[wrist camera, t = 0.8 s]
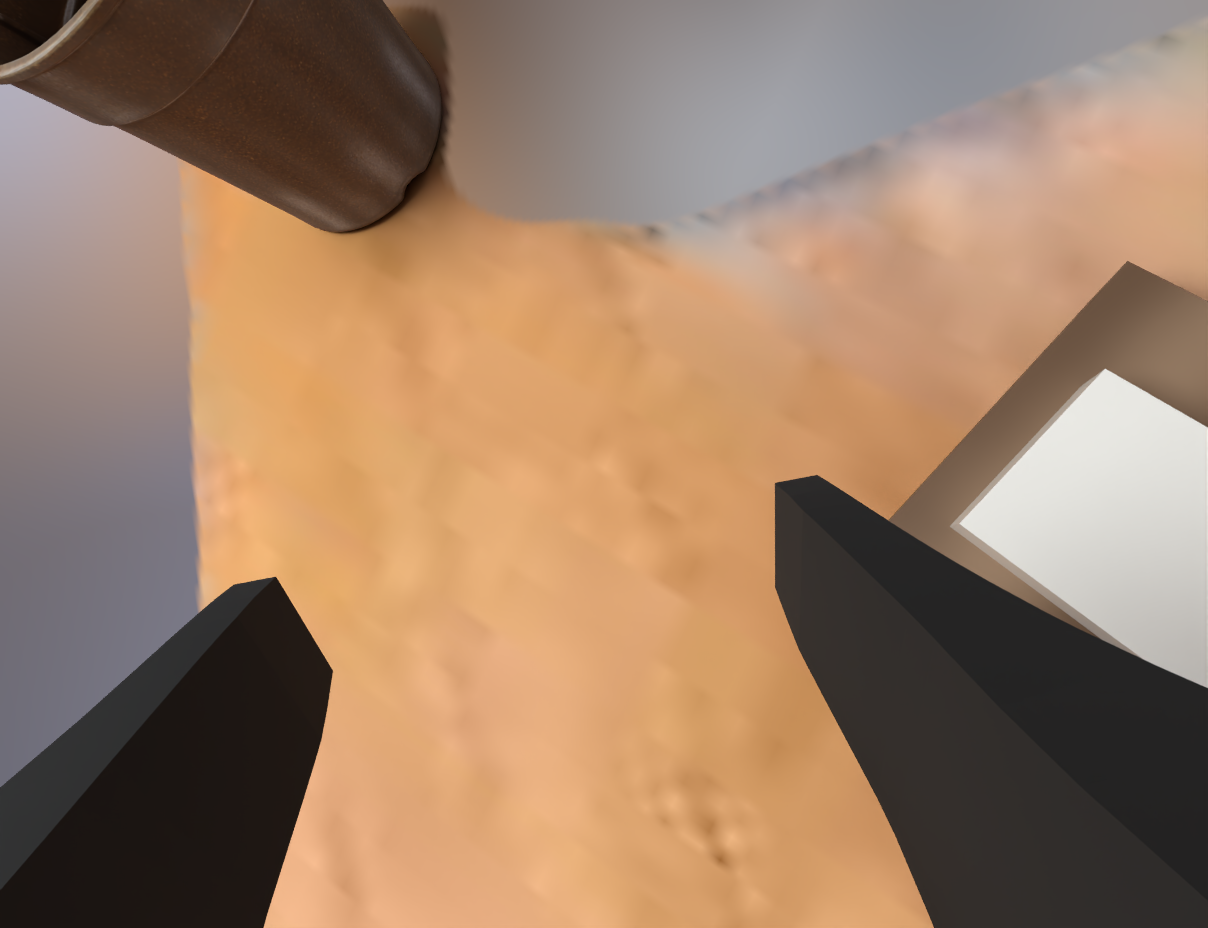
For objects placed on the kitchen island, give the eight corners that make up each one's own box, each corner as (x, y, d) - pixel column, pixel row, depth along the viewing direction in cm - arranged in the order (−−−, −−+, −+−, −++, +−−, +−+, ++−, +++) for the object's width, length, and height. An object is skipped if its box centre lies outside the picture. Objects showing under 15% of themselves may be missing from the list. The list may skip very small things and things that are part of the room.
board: (1582, 558, 17) (1723, 559, 14) (1201, 890, 19) (1261, 948, 16) (1093, 297, 22) (1127, 261, 20) (833, 579, 24) (831, 583, 22)
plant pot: (262, 88, 42) (-56, -164, 27) (456, -31, 37) (189, -424, 22) (276, 300, 39) (-80, 145, 24) (491, 205, 33) (204, -73, 19)
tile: (1326, 531, 17) (1384, 528, 15) (1163, 685, 18) (1199, 700, 16) (1081, 385, 20) (1104, 368, 18) (949, 526, 20) (959, 523, 19)
